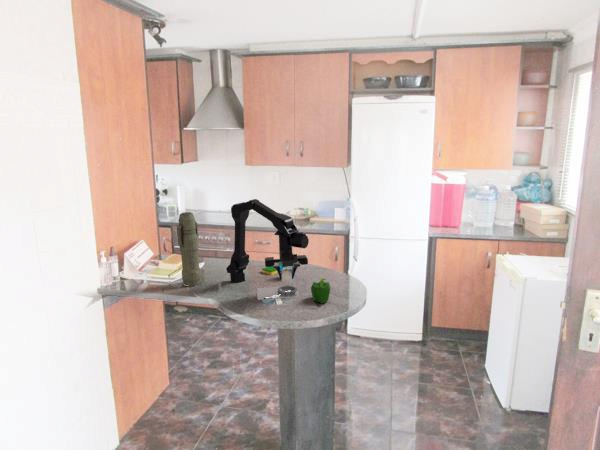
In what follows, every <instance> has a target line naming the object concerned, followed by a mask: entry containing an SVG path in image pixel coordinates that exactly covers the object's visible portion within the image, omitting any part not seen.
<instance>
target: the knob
mask: <svg viewBox="0 0 600 450" xmlns="http://www.w3.org/2000/svg"><path fill="white" fill-rule="evenodd" d="M281 278H282V280H280V281H281V283H286V284H287V283H292V282H293V279H292V268H291V267H290V268H287V267H285V268H284V269H281Z"/></svg>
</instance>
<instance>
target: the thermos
mask: <svg viewBox="0 0 600 450" xmlns="http://www.w3.org/2000/svg"><path fill="white" fill-rule="evenodd" d="M194 215H195V214H194V213H193V212H191V211H190V212H189V211H188V212H187V211H185V212H181V213H180V214H179V217H178V224H177V227H176V233H177V244H178V246H179V251H180V255H181V265H182V269H181V279H182V284H183V283H184V284H185V285H189V286H192V287H196V286H195V285H197V286H199V284H200V285H201V284H202V280H201V279H202V273H201V270H202V269H201V268H200V259H199V228H198V227H199V226H198V222H197V221H196V218H195V216H194Z"/></svg>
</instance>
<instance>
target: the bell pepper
mask: <svg viewBox="0 0 600 450" xmlns="http://www.w3.org/2000/svg"><path fill="white" fill-rule="evenodd" d="M325 280H327V278H326V277H322V278H321V279H320V281H318V282H316V281H315V282H312V284H311V287H310V291H311V295H312V299H313V300H314V302H315V303H319V304H325V303H327V302H328V301H329V299H330V294H331V285H330V282H326V281H325Z"/></svg>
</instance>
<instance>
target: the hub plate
mask: <svg viewBox="0 0 600 450" xmlns="http://www.w3.org/2000/svg"><path fill="white" fill-rule="evenodd" d="M288 290H291V291H290V292H285V291H288ZM256 294H257V295H256V297H257V301H259V300H260V301H261V300H262V301H263V300H264V299H263V298H265V297H271V296H273V295H279V294H281V295H280V296H279V297H277V298H272V299H287V298H288V299H289V298H298V297H300V294H299V292H298V288H297V286H296V285H282V286H269V287H257V288H256ZM272 299H271V300H272Z"/></svg>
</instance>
